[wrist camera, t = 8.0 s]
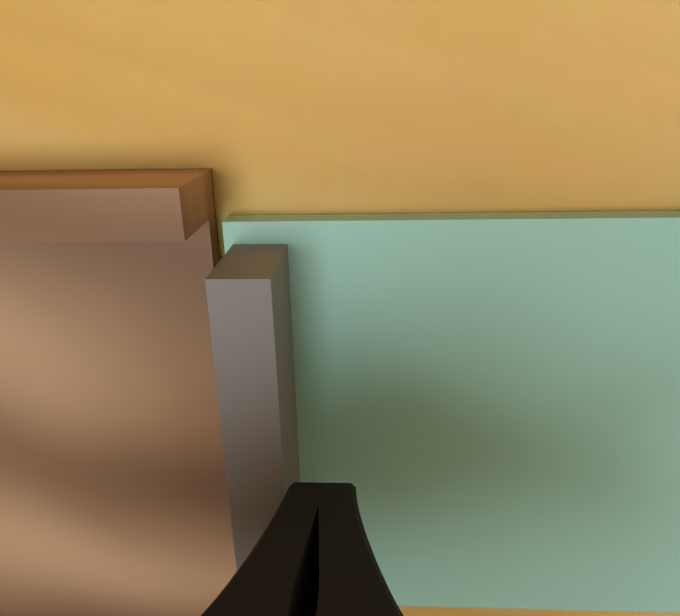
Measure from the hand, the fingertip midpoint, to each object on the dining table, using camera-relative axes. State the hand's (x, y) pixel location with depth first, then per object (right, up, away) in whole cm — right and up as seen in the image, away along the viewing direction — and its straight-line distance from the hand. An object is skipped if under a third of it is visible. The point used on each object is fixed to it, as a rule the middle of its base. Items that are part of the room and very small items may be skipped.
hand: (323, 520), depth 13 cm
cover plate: (+4, +2, +3) cm, 6 cm away
